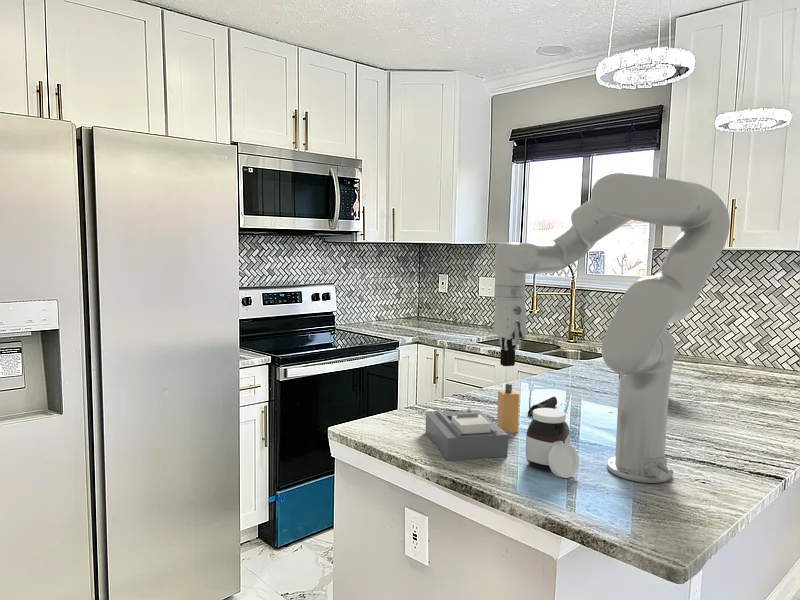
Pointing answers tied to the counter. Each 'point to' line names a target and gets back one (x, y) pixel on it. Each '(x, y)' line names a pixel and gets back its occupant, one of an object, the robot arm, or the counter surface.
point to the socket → (465, 438)
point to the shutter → (471, 423)
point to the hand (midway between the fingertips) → (507, 365)
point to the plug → (508, 409)
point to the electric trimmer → (544, 405)
